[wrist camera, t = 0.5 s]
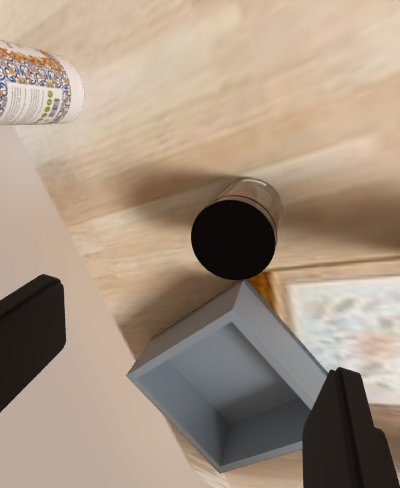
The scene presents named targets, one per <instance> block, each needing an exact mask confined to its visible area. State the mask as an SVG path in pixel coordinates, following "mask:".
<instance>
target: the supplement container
mask: <svg viewBox="0 0 400 488" xmlns="http://www.w3.org/2000/svg"><path fill="white" fill-rule="evenodd" d="M281 214H282V204H281V200H280V198H279V195H278V194H277V192H276V191H275V189H274V188H273V187H272V186H270V185H269V184H268V183H266V182H264V181H262V180H259V179H254V178H247V179H241V180H238V181H236V182H234V183H233V184H231V185H230V186H229V187H228V188H227V189H226V190H225V191H223V192H222V193H221V194H220V195H219V196H218V197H217V198H216V199H215V200H214V201H212V202H211V203H209V204H208V205H207V206H206V207H205V208H204V209H203V210H202V211H201V212H200V214H199V215H198V216H197V218H196V219H195V221H194V224H193V227H192V231H191V243H192V248H193V251H194V253H195V255H196V257H197V259H198V260H199V262H200V263H201V264H202V265H203V266H204V267H205V268H206V269H207V270H208V271H210V272H211V273H213V274H214V275H216V276H219V277H221V278H224V279H229V280H244V279H248V278H251V277H254V276H256V275H257V274H259V273H260V272H262V271H263V270H264V269H265V268H266V267H267V266H268V265H269V263H270V262H271V260H272V258H273V255H274V252H275V248H276V244H277V235H278V230H279V224H280V219H281Z"/></svg>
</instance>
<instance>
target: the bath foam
mask: <svg viewBox="0 0 400 488" xmlns="http://www.w3.org/2000/svg"><path fill="white" fill-rule="evenodd" d="M83 102H84V88H83V84H82V80H81V78H80V76H79V74H78V72H77V70H76V69H75V67H74V66H73V65H72V64H71V63H70V62H69V61H68V60H66V59H65V58H63V57H61V56H58V55H55V54H51V53H48V52H45V51H41V50H37V49H34V48H30V47H26V46H23V45H19V44H15V43H12V42H8V41H4V40H0V125H32V124H63V123H68V122H71V121H72V120H74V119H75V118H76V117H77V116H78V115H79V113H80V111H81V109H82V106H83Z"/></svg>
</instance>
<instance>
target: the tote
mask: <svg viewBox="0 0 400 488" xmlns="http://www.w3.org/2000/svg"><path fill="white" fill-rule="evenodd" d="M327 375H328V372H327V371H326V370H325V369H324V368H323V367H322V366H321V364H320V363H319V362H318V361H317V360H316V359H315V358H314V356H313V355H312V354H311V353H310V352H309V351H308V350H307V348H306V347H305V346H304V345H303V344H302V343H301V342H300V340H299V339H298V338H297V337H296V336H295V335H294V334H293V332H292V331H291V330H290V329H289V328H288V327H287V326H286V324H285V323H284V322H283V321H282V320H281V319H280V318H279V316H278V315H277V314H276V313H275V312H274V311H273V310H272V308H271V307H270V306H269V305H268V304H267V303H266V301H265V300H264V299H263V298H262V297H261V296H260V295H259V293H258V292H257V291H256V290H255V289H254V288H253V287H252V285H251V284H250V283H249V282H248V281H247V280H246V279H244V280H239V281H238V282H236V283H235V284H233V285H232V286H230V287H229V288H227V289H226V290H224V291H223V292H221V293H220V294H218V295H217V296H215V297H214V298H212V299H211V300H209V301H208V302H206V303H205V304H203V305H202V306H200V307H199V308H198V309H196V310H195V311H193V312H192V313H190V314H189V315H187V316H186V317H184V318H183V319H181V320H180V321H178V322H177V323H175V324H174V325H172V326H171V327H169V328H168V329H166V330H165V331H163V332H162V333H160V334H159V335H157V336H156V337H154V338H153V339H151V340H150V341H149V343H148V344H147V346H146V347H145V349H144V350H143V352H142V353H141V355H140V356H139V358H138V359H137V360H136V362H135V363H134V365H133V366H132V368H131V369H130V371H129V372H128V374H127V375H126V376H127V377H128V378H129V379H130V380H131V381H132V382H133V383H134V384H135V385H136V386H137V388H138V389H139V390H140V391H141V392H142V393H143V394H144V395H145V396H146V397H147V398H148V399H149V400H150V401H151V402H152V403H153V404H154V405H155V406H156V407H157V408H158V410H159V411H160V412H161V413H162V414H163V415H164V416H165V417H166V418H167V419H168V420H169V421H170V422H171V423H172V424H173V425H174V426H175V427H176V428H177V429H178V430H179V431H180V433H181V434H182V435H183V436H184V437H185V438H186V439H187V440H188V441H189V442H190V443H191V444H192V445H193V446H194V447H195V448H196V449H197V450H198V451H199V452H200V453H201V454H202V456H203V457H204V458H205V459H206V460H207V461H208V462H209V463H210V464H211V465H212V466H213V467H214V468H215V469H216V470H217V471H218V472H219V473H223V472H227V471H230V470H233V469H237V468H240V467H243V466H247V465H250V464H253V463H257V462H260V461H264V460H267V459H270V458H274V457H277V456H280V455H284V454H287V453H290V452H294V451H297V450H300V449H302V434H303V428H304V425H305V423H306V421H307V418H308V416H309V414H310V412H311V410H312V408H313V405H314V403H315V401H316V399H317V397H318V395H319V393H320V390H321V388H322V386H323V384H324V382H325V380H326V378H327Z"/></svg>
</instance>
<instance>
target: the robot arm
mask: <svg viewBox="0 0 400 488" xmlns="http://www.w3.org/2000/svg"><path fill="white" fill-rule="evenodd" d="M65 343H66V328H65V308H64V288H63V285H62V284H61V282H60V280H59V279H57V278H55V277H51V276H48V275H45V274H42V275H40V276H38V277H37V278H35V279H33V280H32V281H30V282H29V283H27V284H25V285H24V286H23V287H21V288H19V289H18V290H16V291H15V292H13V293H11V294H10V295H8V296H6V297H5V298H3V299H2V300H0V412H1V411H2V410H3V409H4V408H5V407H6V406H7V405H8V404H9V403H10V402H11V401H12V400H13V399H14V398H15V397H16V396H17V395H18V394H19V393H20V392H21V391H22V390H23V389H24V388H25V387H26V386H27V385H28V384H29V383H30V382H31V381H32V380H33V379H34V378H35V377H36V376H37V375H38V374H39V373H40V372H41V370H43V368H45V366H47V364H48V363H49V362H50V361H51V360H52V359H53V358H54V357H55V356H56V355H57V354H58V353H59V352H60V351H61V350H62V349H63V347H64V345H65ZM302 449H303V487H304V488H400V485H399V481H398V478H397V474H396V471H395V467H394V464H393V460H392V457H391V453H390V450H389V446H388V443H387V439H386V437H385V434H384V433H383V431H382V430H380V429H378V428H375V427H374V424H373V420H372V416H371V412H370V408H369V405H368V401H367V397H366V393H365V389H364V385H363V381H362V378H361V375H360V374H359V373H357V372H354V371H351V370H348V369H345V368H341V367H338V368H337V370H336V371H335V370H330V371H329V373H328V375H327V378H326V380H325V382H324V384H323V386H322V388H321V390H320V393H319V395H318V397H317V399H316V401H315V403H314V405H313V408H312V410H311V412H310V414H309V416H308V418H307V421H306V423H305V425H304V428H303V434H302Z"/></svg>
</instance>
